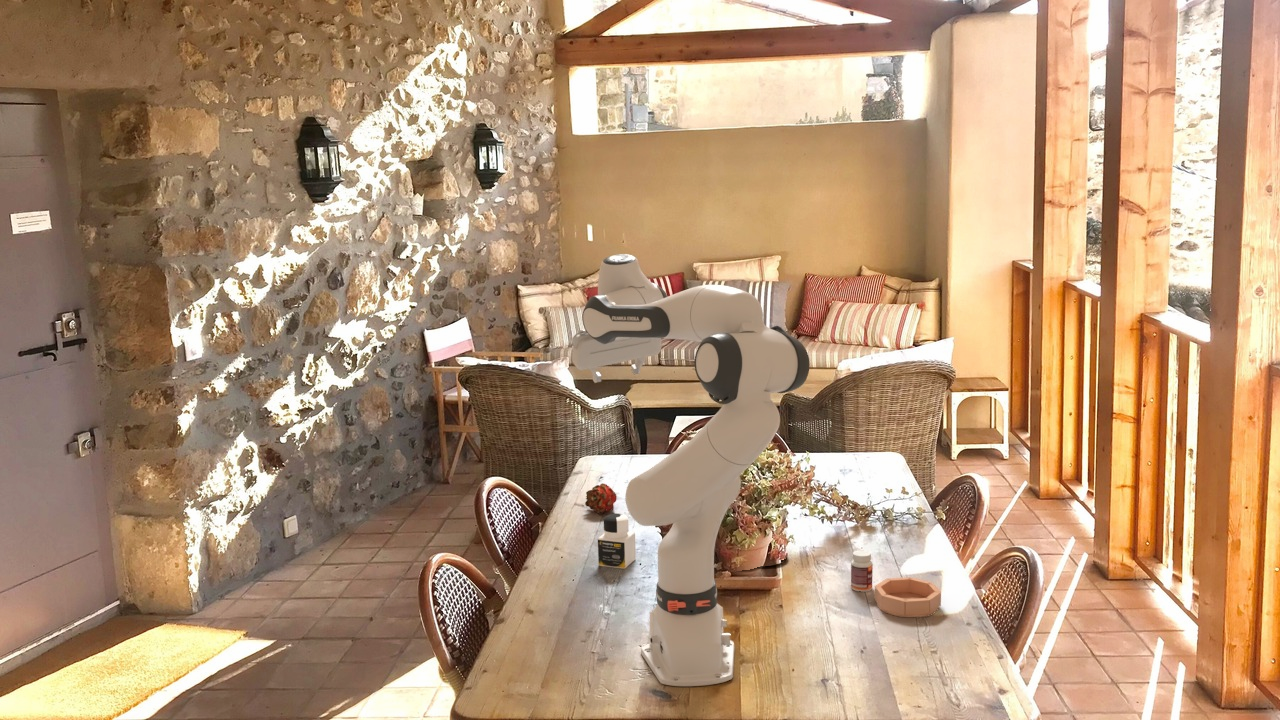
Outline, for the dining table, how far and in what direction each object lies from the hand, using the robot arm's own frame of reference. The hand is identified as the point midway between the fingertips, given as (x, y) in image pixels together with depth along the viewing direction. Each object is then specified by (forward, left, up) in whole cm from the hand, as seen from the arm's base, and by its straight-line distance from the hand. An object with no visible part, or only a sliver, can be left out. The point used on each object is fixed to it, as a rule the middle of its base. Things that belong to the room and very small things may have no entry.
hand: (616, 376), depth 246 cm
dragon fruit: (+56, +3, -50) cm, 75 cm away
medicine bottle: (+15, +1, -50) cm, 52 cm away
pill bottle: (-10, -53, -50) cm, 74 cm away
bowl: (-21, -60, -49) cm, 81 cm away
